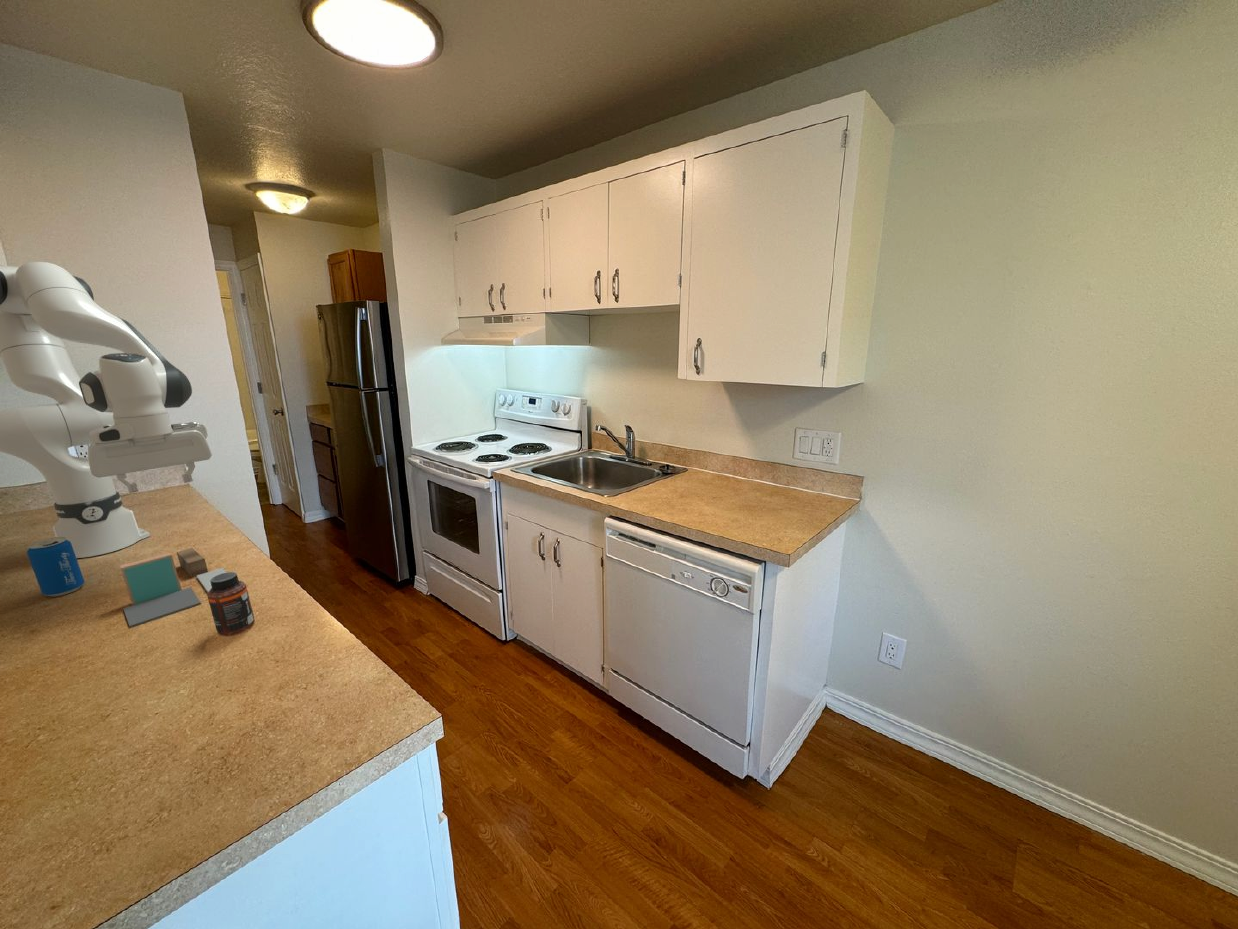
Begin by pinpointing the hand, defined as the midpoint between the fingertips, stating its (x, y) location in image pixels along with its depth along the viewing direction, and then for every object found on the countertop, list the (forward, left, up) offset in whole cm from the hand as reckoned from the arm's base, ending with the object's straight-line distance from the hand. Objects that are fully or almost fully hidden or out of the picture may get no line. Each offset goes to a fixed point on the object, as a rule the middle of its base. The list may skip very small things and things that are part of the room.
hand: (161, 486), depth 112 cm
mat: (+16, -6, -22) cm, 28 cm away
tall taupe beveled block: (0, +2, -22) cm, 22 cm away
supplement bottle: (+38, +2, -22) cm, 44 cm away
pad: (+12, +4, -22) cm, 25 cm away
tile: (+10, -6, -22) cm, 25 cm away
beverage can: (-10, -19, -22) cm, 31 cm away
